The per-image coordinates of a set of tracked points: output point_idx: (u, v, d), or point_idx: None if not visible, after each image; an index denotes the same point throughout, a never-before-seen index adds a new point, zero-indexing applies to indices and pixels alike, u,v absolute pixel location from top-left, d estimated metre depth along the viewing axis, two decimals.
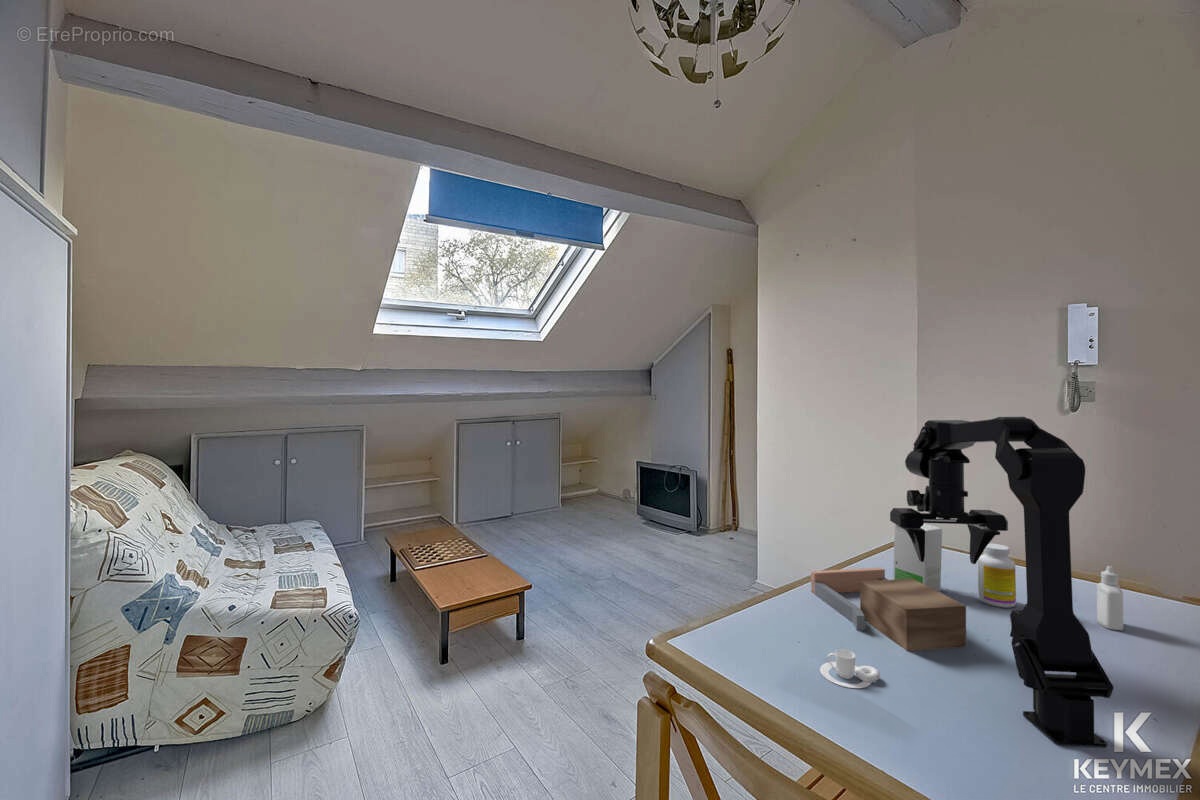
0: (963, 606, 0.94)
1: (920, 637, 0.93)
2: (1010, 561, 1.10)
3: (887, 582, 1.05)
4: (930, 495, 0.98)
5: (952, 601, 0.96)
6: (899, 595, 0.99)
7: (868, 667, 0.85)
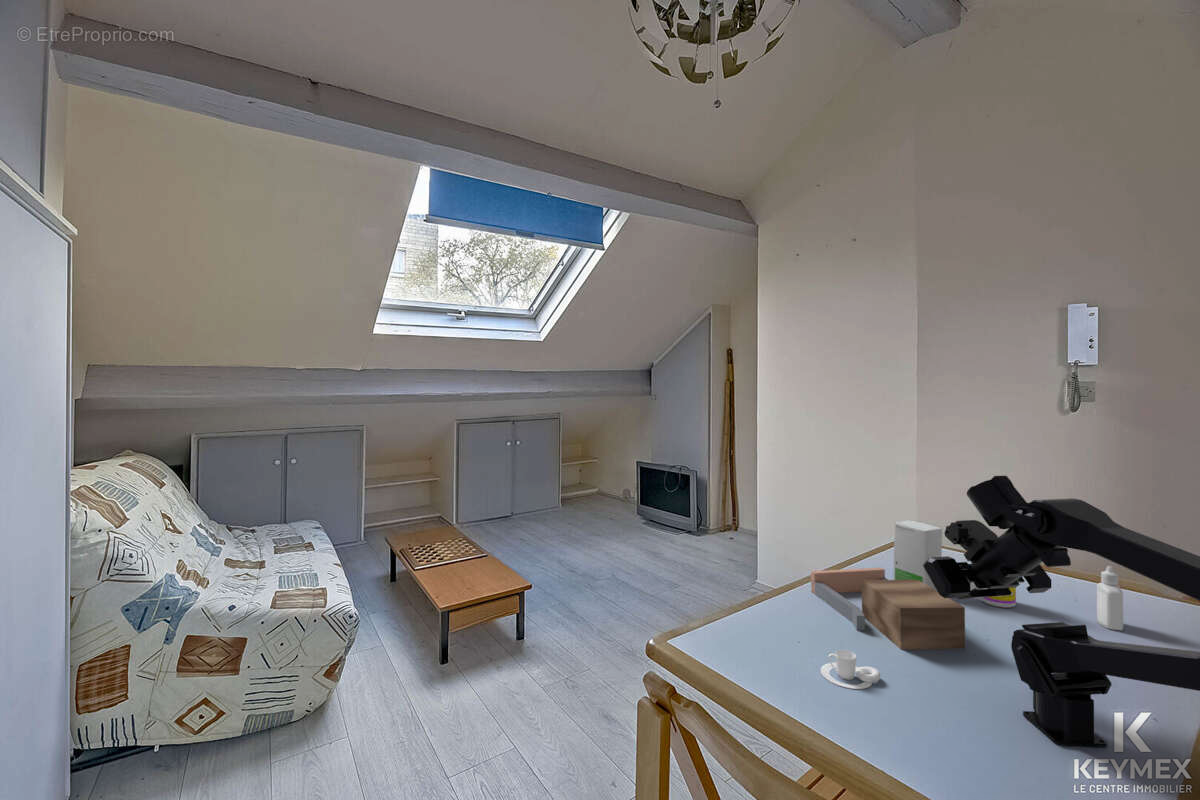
0: (962, 607, 0.93)
1: (915, 636, 0.93)
2: None
3: (889, 582, 1.06)
4: (988, 561, 0.79)
5: (951, 602, 0.95)
6: (898, 595, 0.99)
7: (869, 668, 0.85)
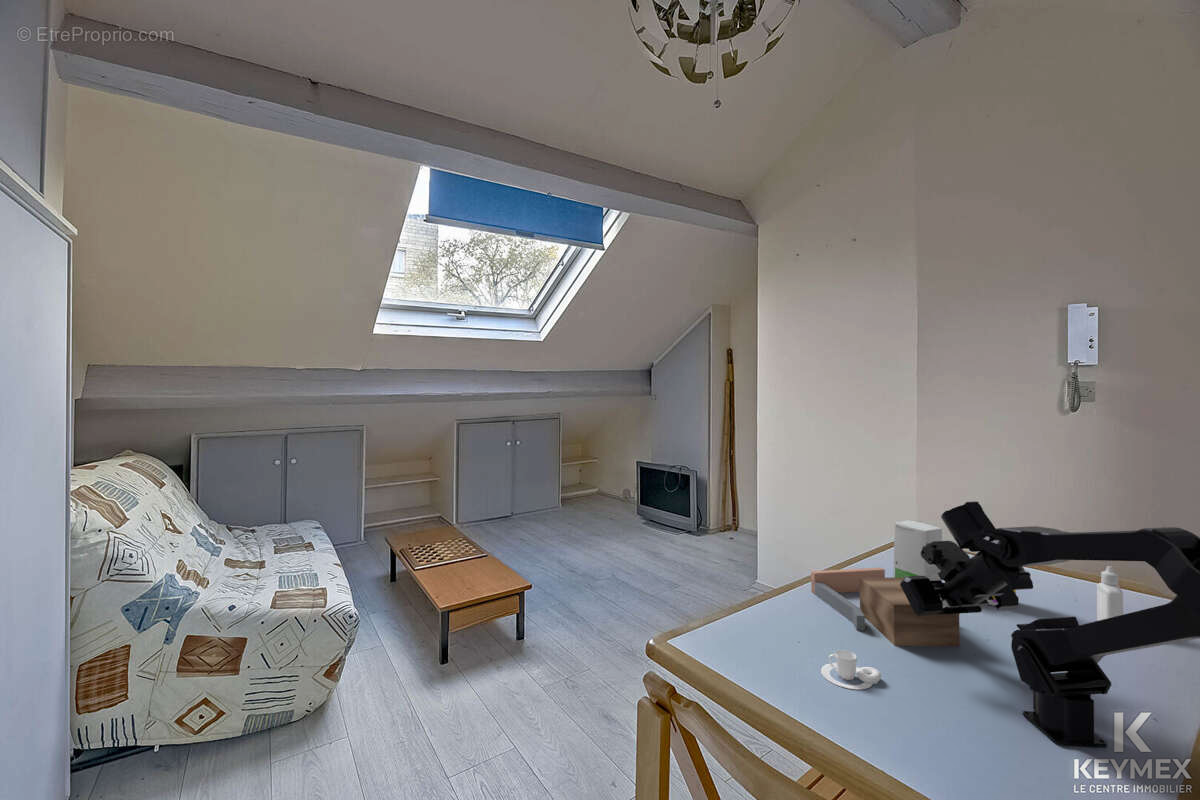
0: None
1: (909, 632, 0.94)
2: None
3: (887, 580, 1.07)
4: (959, 581, 0.84)
5: None
6: (893, 592, 1.00)
7: (869, 668, 0.84)
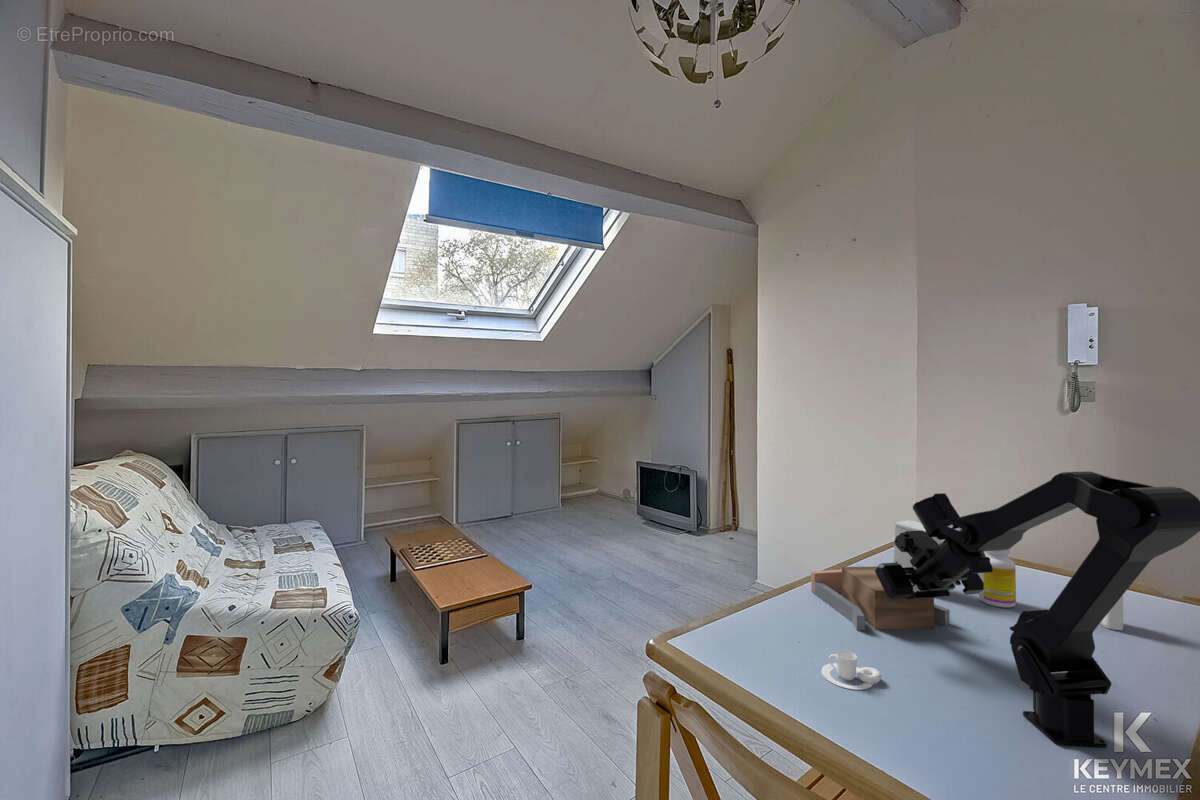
0: None
1: (888, 616, 1.01)
2: (1010, 561, 1.10)
3: (867, 568, 1.14)
4: (928, 567, 0.91)
5: None
6: (874, 579, 1.07)
7: (870, 668, 0.84)
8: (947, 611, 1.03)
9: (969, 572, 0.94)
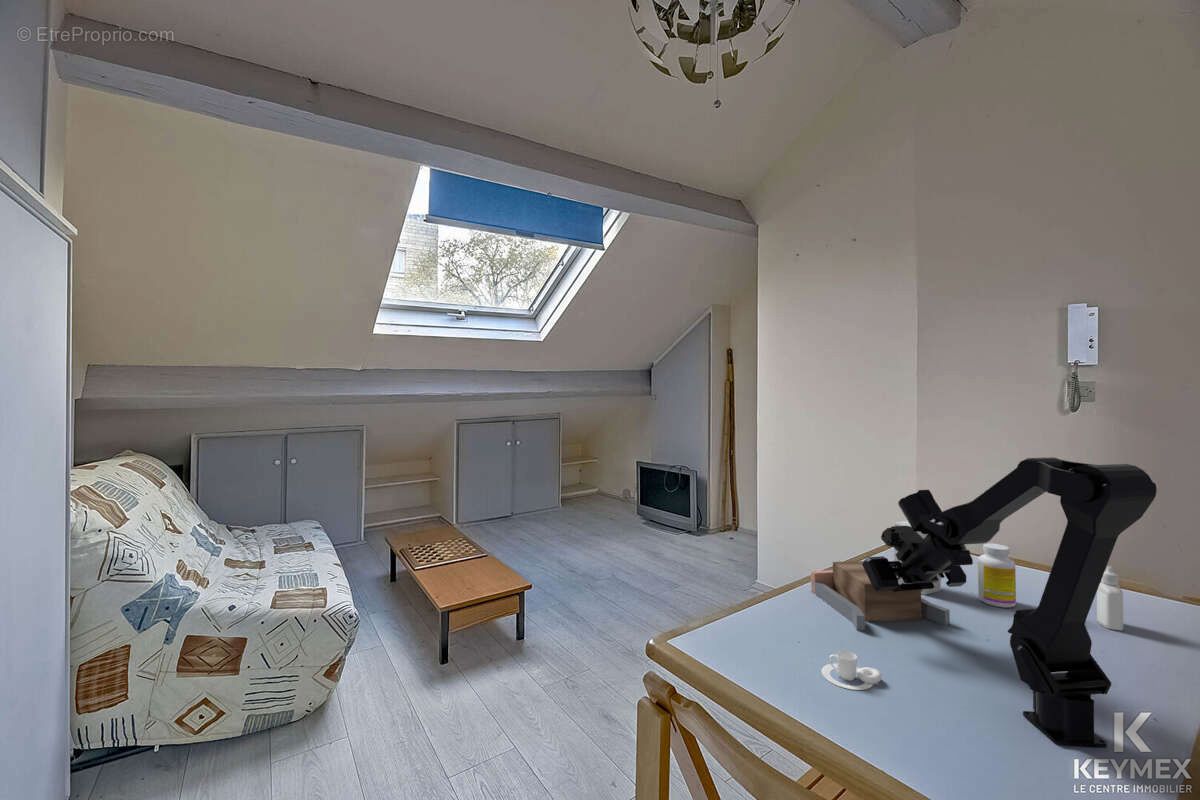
0: None
1: (878, 609, 1.05)
2: (1010, 561, 1.10)
3: (857, 563, 1.17)
4: (913, 560, 0.95)
5: None
6: (863, 573, 1.11)
7: (870, 669, 0.84)
8: (947, 611, 1.03)
9: (952, 565, 0.98)
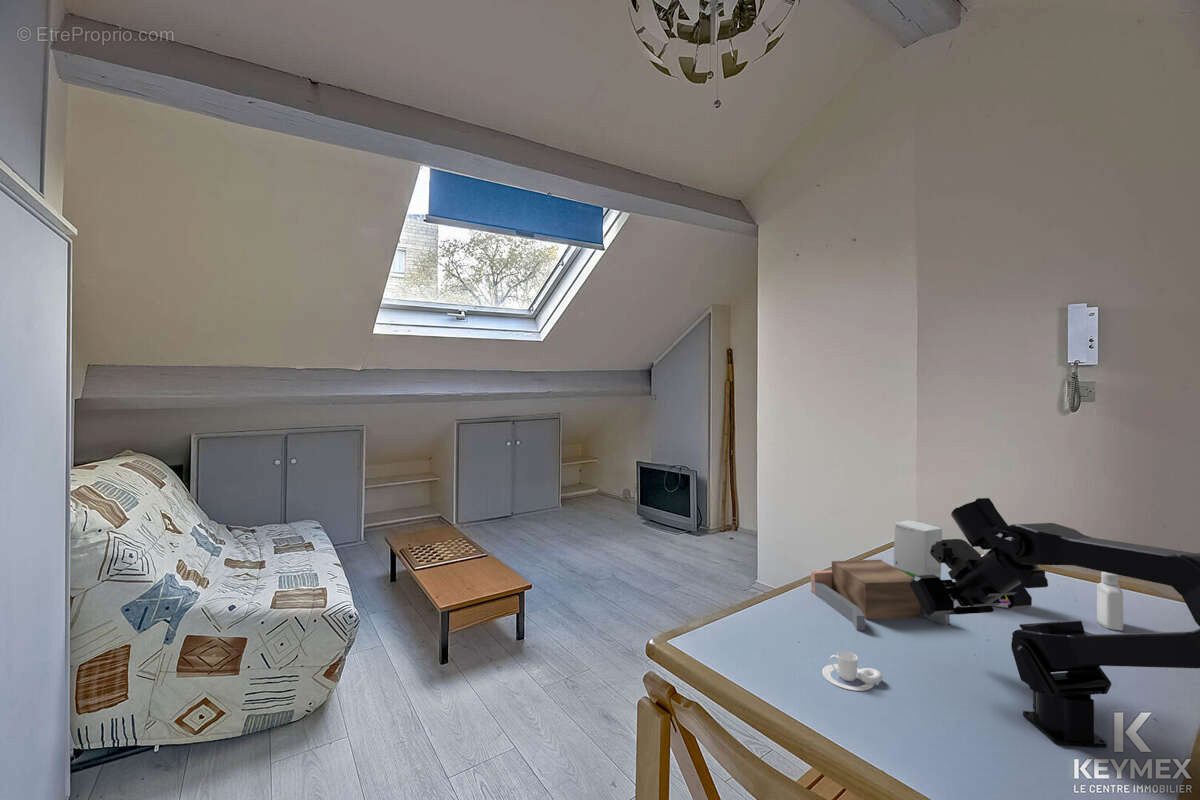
0: None
1: (878, 607, 1.06)
2: None
3: (855, 562, 1.18)
4: (971, 580, 0.82)
5: (909, 577, 1.08)
6: (863, 572, 1.11)
7: (870, 669, 0.84)
8: None
9: None
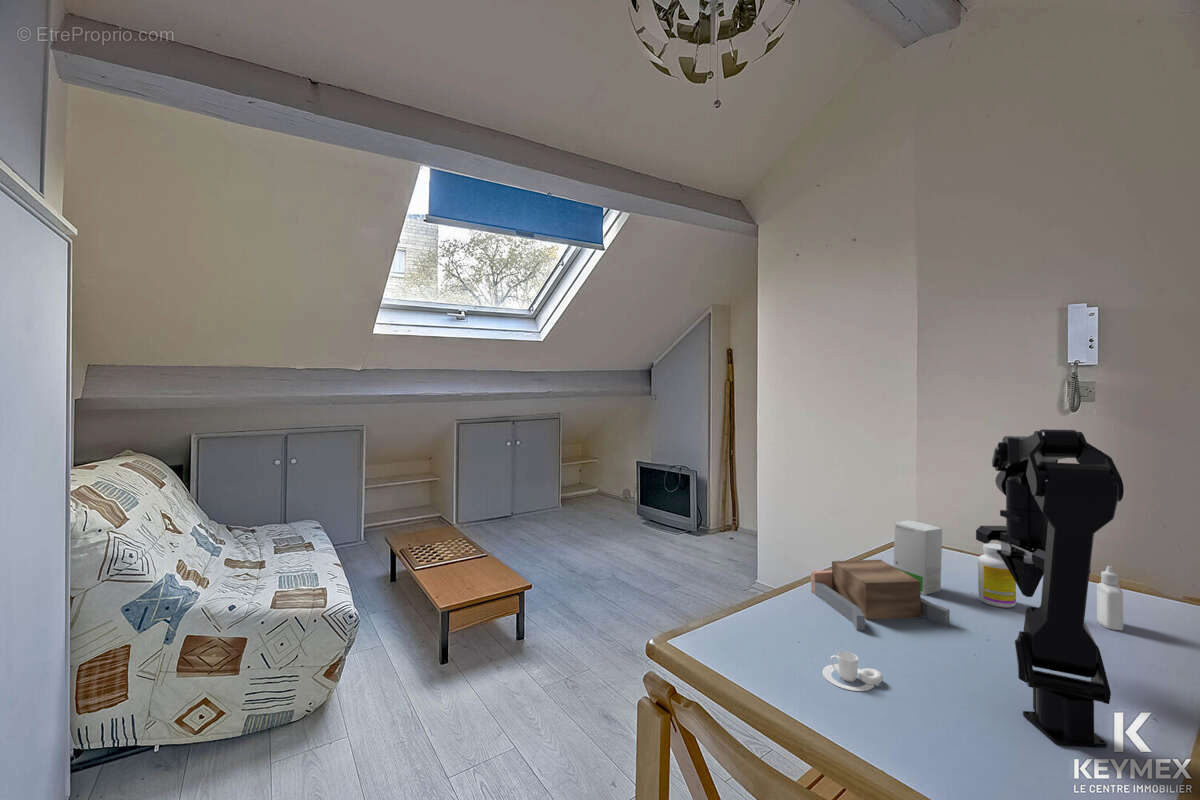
0: (918, 581, 1.06)
1: (878, 607, 1.06)
2: None
3: (856, 562, 1.18)
4: None
5: (909, 577, 1.08)
6: (863, 572, 1.11)
7: (871, 670, 0.84)
8: (947, 611, 1.03)
9: None
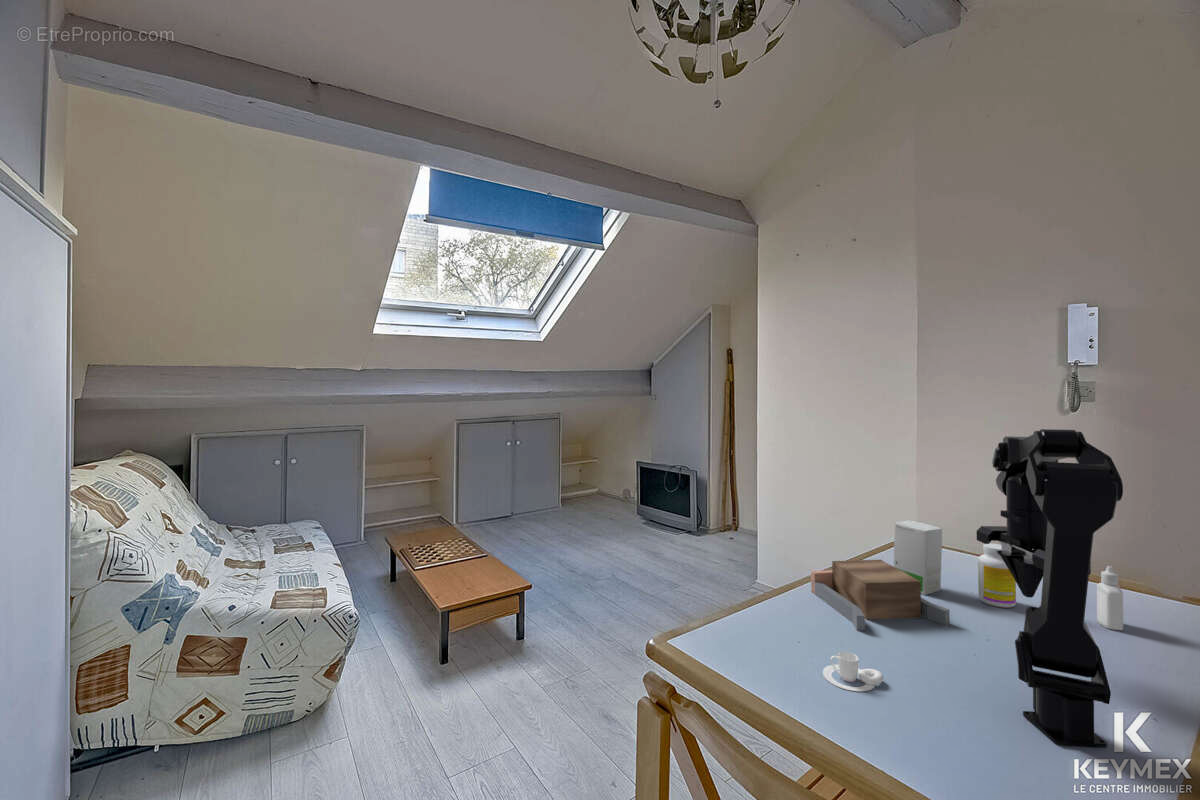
0: (918, 581, 1.06)
1: (878, 608, 1.06)
2: None
3: (856, 562, 1.18)
4: None
5: (909, 577, 1.08)
6: (864, 572, 1.11)
7: (871, 670, 0.84)
8: (947, 611, 1.03)
9: None
